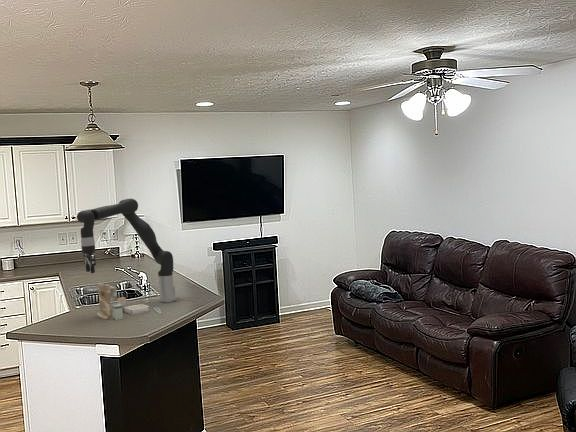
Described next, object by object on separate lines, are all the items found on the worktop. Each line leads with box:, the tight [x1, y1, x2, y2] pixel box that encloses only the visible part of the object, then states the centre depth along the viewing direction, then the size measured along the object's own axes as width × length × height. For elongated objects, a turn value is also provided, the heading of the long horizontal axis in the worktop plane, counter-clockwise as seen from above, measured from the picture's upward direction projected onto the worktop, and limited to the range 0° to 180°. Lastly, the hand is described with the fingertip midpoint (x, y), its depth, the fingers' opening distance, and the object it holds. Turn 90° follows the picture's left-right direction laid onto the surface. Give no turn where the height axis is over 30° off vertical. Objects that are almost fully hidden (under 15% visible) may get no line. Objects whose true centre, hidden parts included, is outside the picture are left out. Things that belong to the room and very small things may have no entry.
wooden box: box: [96, 282, 118, 320], centre depth 363 cm, size 9×16×20 cm, turn 36°
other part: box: [112, 303, 124, 321], centre depth 354 cm, size 4×4×8 cm
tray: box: [123, 303, 151, 316], centre depth 371 cm, size 12×12×3 cm
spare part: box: [116, 296, 127, 312], centre depth 376 cm, size 4×4×8 cm
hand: (90, 272), depth 357 cm, fingers open, 8 cm apart
